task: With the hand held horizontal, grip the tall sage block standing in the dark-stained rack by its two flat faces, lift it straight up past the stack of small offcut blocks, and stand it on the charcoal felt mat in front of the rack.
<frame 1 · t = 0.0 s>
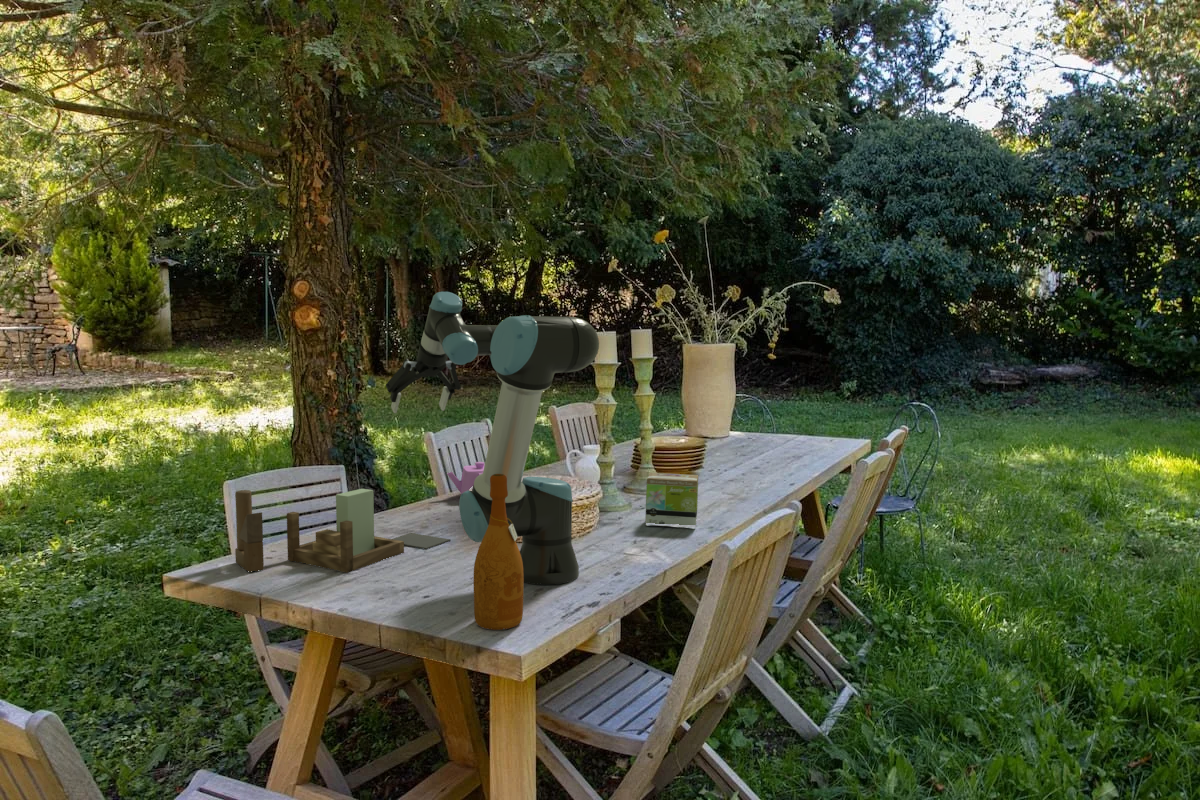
hand: (418, 408, 223), 36 cm above the table, tool tilted 35°, fingers open, 13 cm apart
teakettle: (478, 498, 279), on the table
walnut offcut: (330, 542, 202), point 5 cm above the table, touching oak offcut
pine offcut: (331, 563, 203), resting in rack, touching oak offcut
rack: (347, 556, 207), on the table
tea box: (671, 525, 244), on the table
felt mat: (418, 541, 222), on the table
oak offcut: (330, 552, 202), point 2 cm above the table, touching pine offcut, walnut offcut
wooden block: (249, 567, 198), on the table
wine bottle: (498, 624, 162), on the table
sage block: (356, 553, 210), resting in rack
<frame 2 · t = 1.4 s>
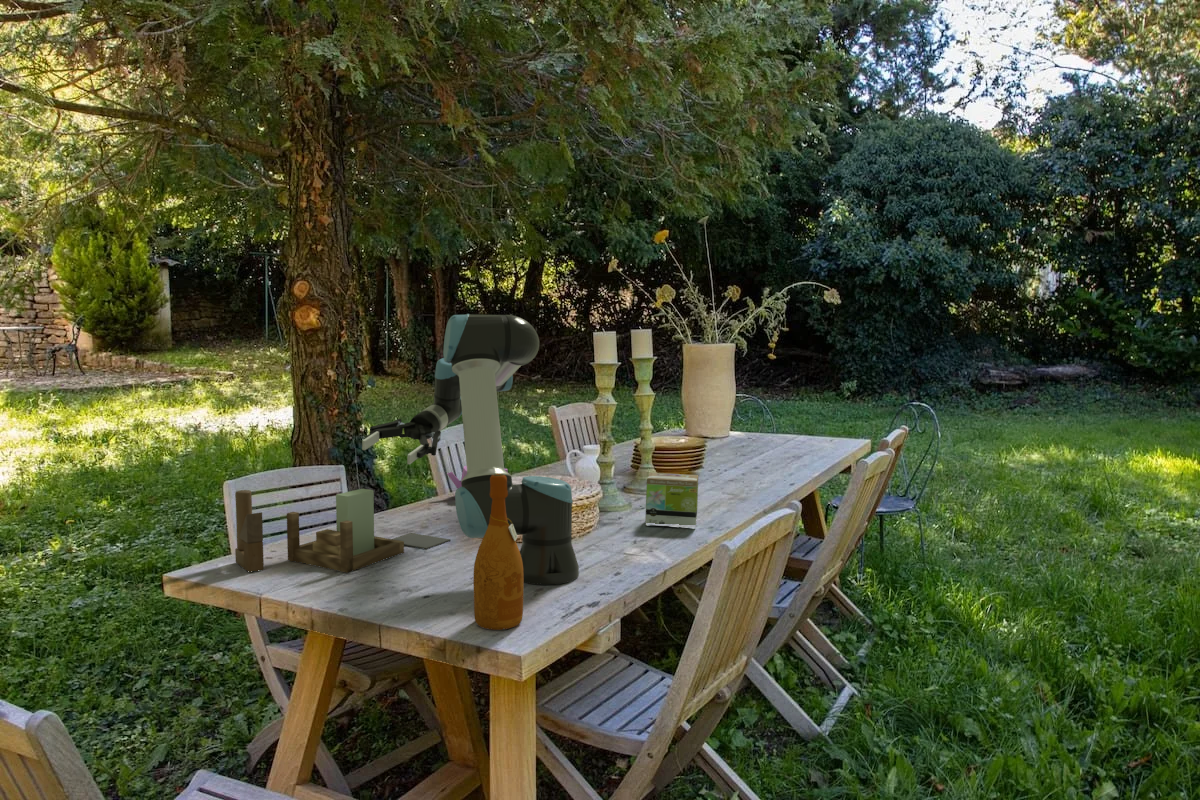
hand: (385, 452, 212), 26 cm above the table, tool tilted 75°, fingers open, 13 cm apart
nothing on the table moved.
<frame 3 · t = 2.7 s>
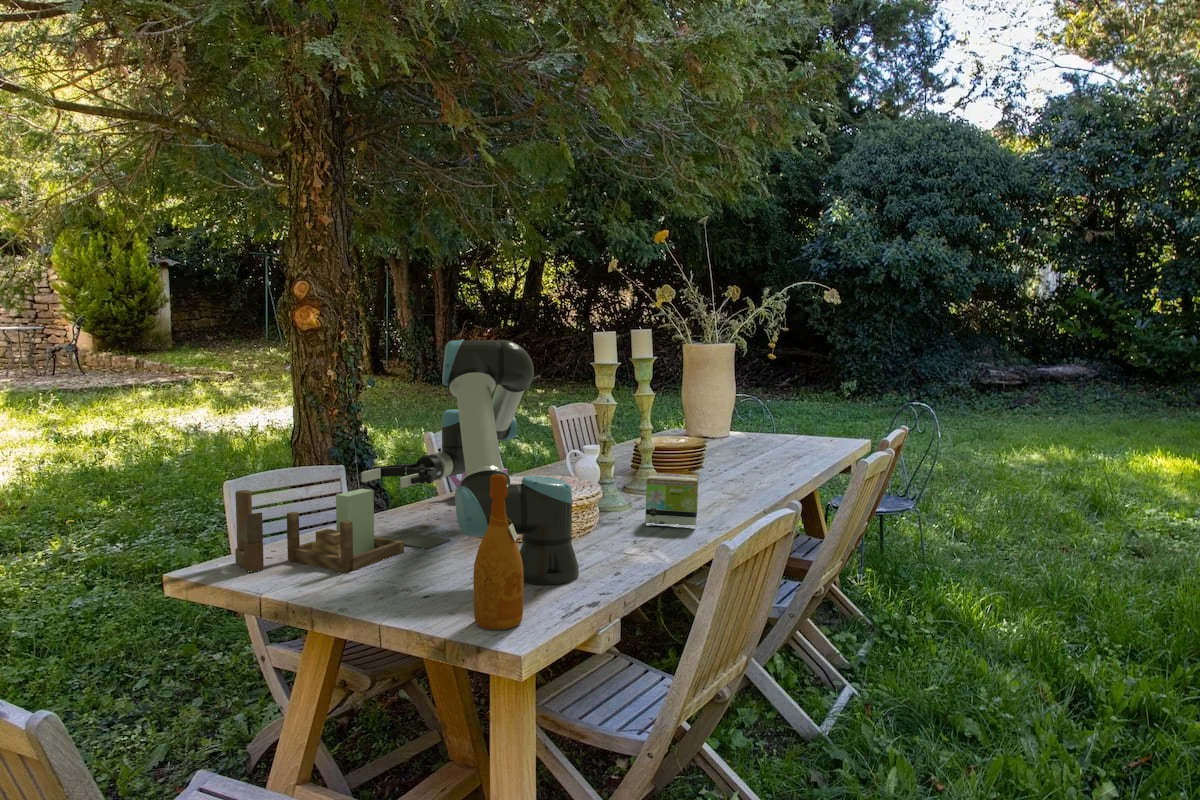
hand: (381, 480, 217), 17 cm above the table, tool horizontal, fingers open, 13 cm apart
nothing on the table moved.
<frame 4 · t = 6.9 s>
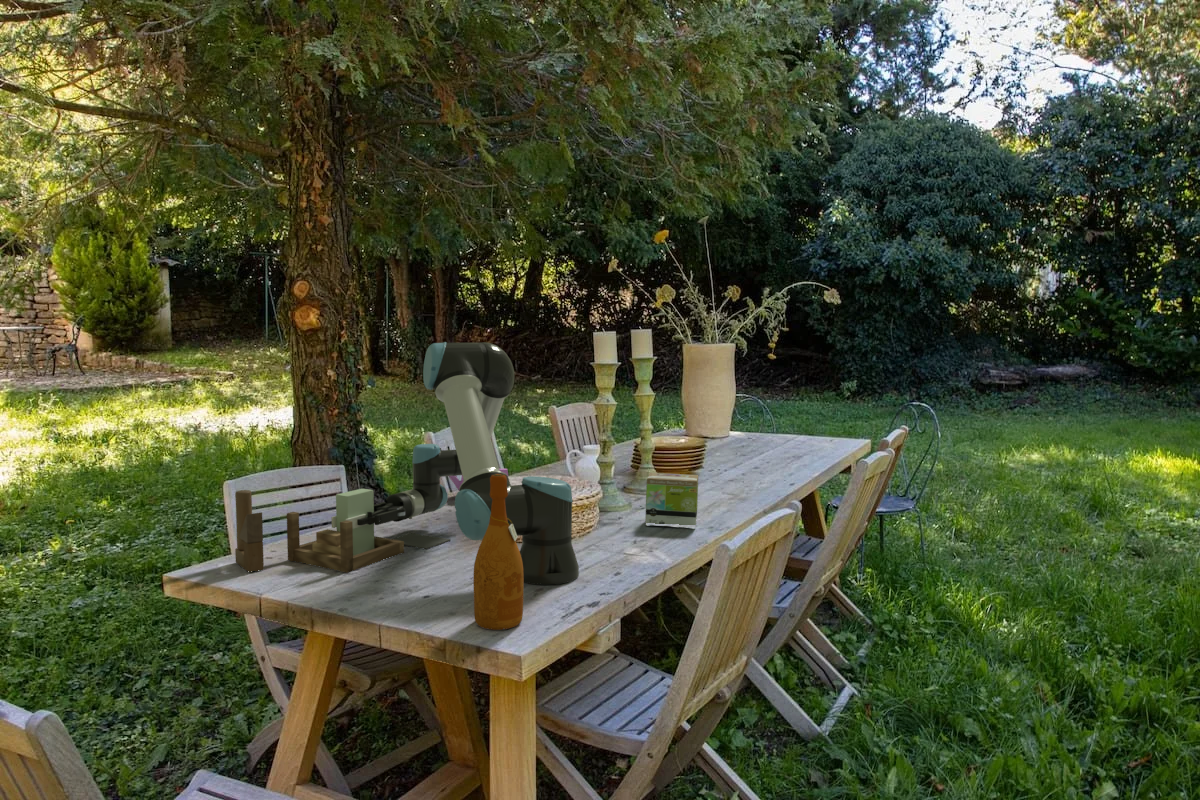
hand: (339, 523, 204), 9 cm above the table, tool horizontal, fingers closed on sage block, 4 cm apart
walnut offcut: (331, 542, 202), point 5 cm above the table
oak offcut: (330, 553, 202), point 2 cm above the table, touching pine offcut
sage block: (356, 553, 210), resting in rack, touching gripper
everything else where it was.
when the fingers open (10 cm above the table, at t = 13.6 s): sage block stays where it is, resting on felt mat.
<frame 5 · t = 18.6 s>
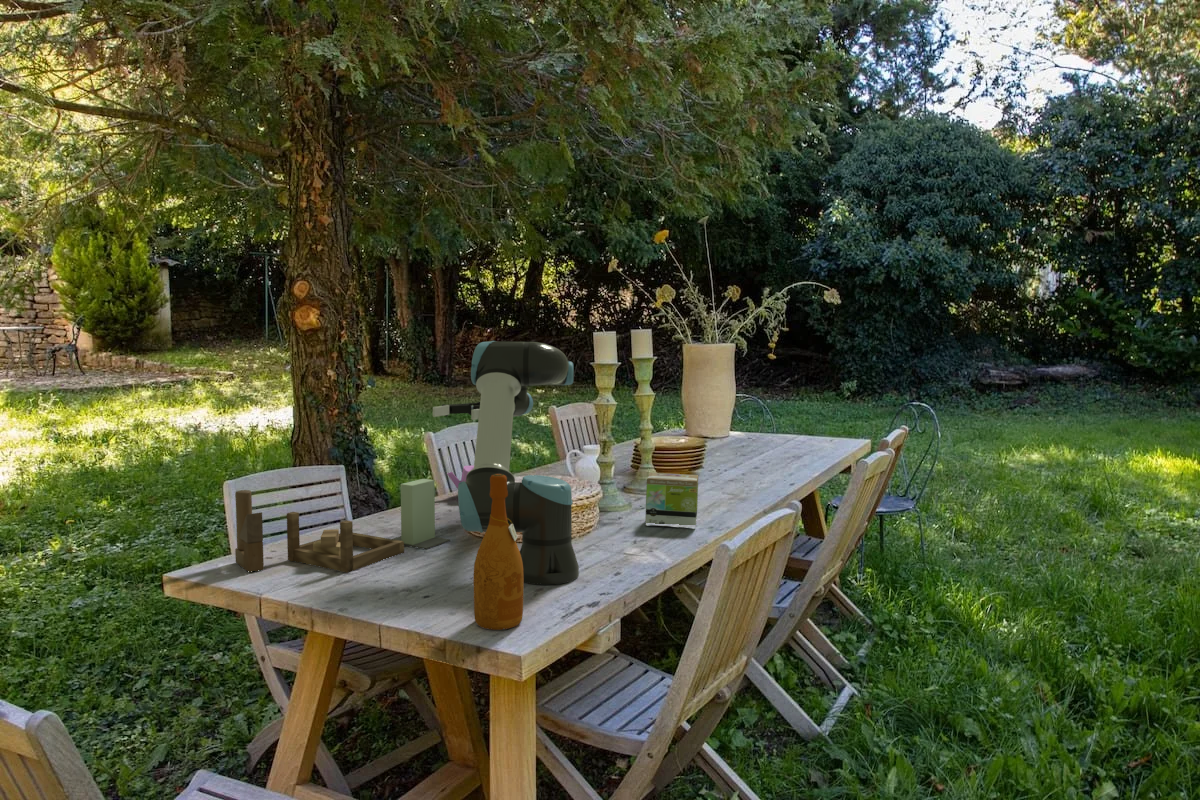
hand: (452, 413, 229), 34 cm above the table, tool horizontal, fingers open, 13 cm apart
sage block: (418, 540, 222), resting on felt mat
at the end: sage block inside the target area (0.0 cm from its centre), resting on felt mat; sage block tilted 0°; the gripper is holding nothing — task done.
